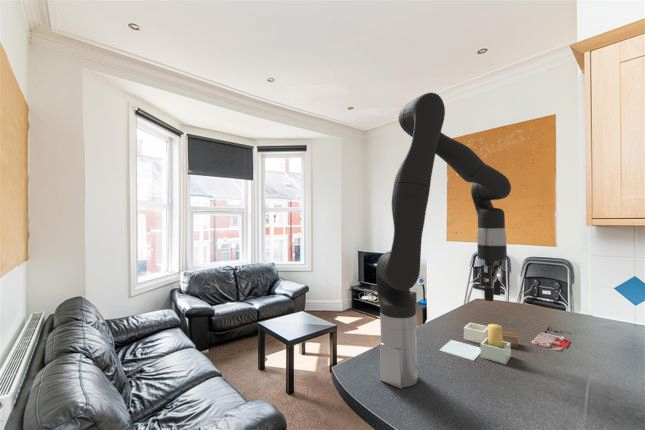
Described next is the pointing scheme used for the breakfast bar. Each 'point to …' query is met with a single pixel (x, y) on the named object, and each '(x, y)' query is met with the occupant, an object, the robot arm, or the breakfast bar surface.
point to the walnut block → (510, 338)
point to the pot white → (475, 332)
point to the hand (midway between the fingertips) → (492, 297)
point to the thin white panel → (461, 350)
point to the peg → (495, 335)
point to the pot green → (495, 352)
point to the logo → (551, 341)
